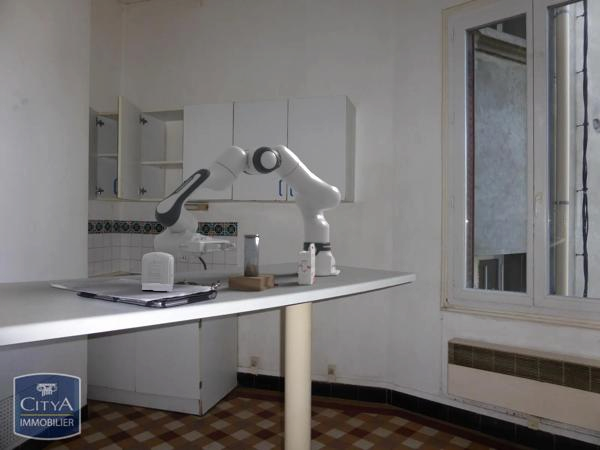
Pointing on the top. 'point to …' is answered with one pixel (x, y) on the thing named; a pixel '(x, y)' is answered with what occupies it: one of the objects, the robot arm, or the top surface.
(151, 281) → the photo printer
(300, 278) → the ink cartridge box
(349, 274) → the top surface
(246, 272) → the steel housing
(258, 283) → the walnut plinth
